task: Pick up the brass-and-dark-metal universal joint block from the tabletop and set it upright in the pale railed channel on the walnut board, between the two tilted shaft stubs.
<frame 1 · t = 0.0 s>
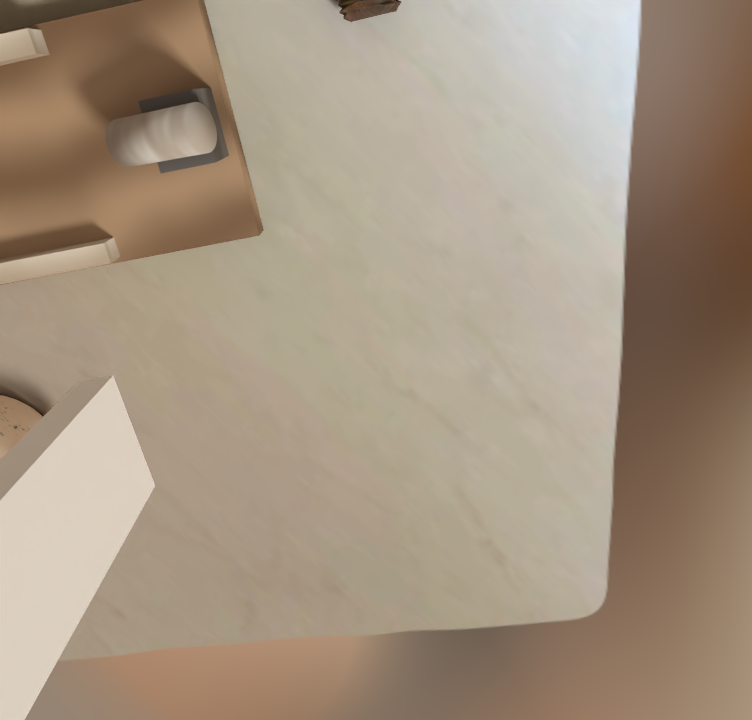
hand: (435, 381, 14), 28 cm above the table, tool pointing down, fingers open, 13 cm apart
teacup with lid: (24, 442, 47), on the table
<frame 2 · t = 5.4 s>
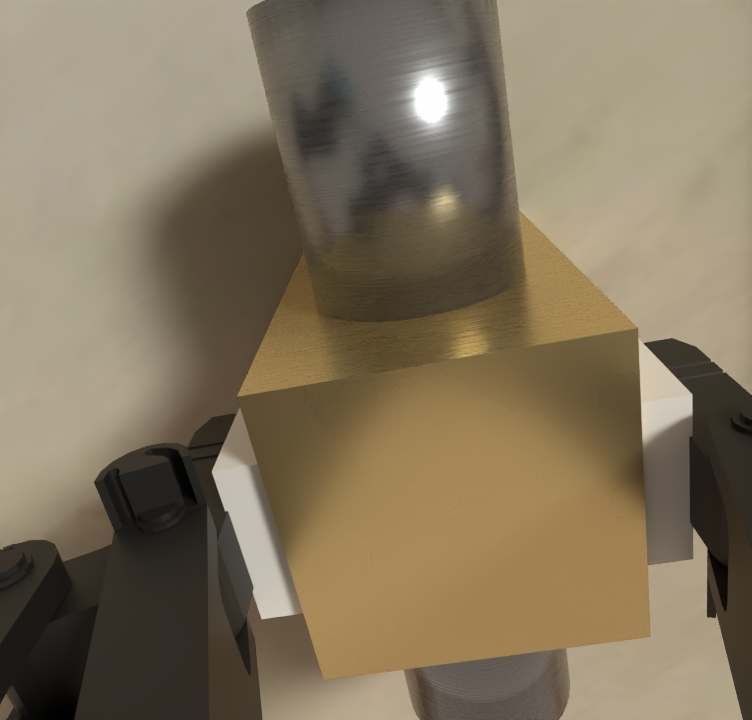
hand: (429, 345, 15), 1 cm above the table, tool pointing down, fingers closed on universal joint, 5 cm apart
universal joint: (426, 325, 16), on the table, touching gripper
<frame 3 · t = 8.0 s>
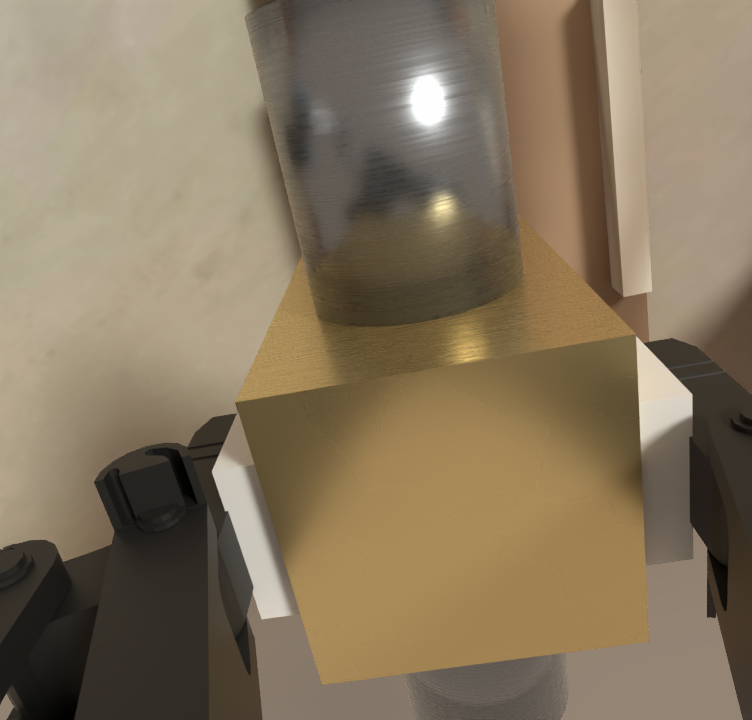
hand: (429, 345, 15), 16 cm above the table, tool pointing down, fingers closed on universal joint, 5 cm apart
universal joint: (425, 328, 16), point 14 cm above the table, touching gripper
coupling cradle: (474, 170, 29), on the table
when the fingers open (4 cm above the table, at t = 10.7 s): universal joint stays where it is, resting on coupling cradle.
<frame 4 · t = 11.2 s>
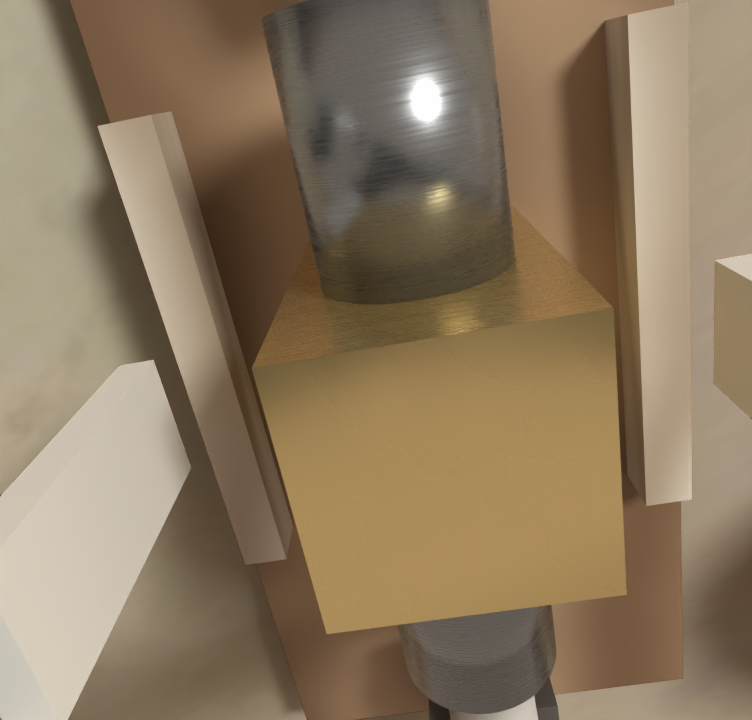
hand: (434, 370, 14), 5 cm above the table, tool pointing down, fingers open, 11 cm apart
universal joint: (424, 314, 17), point 1 cm above the table, touching coupling cradle
coupling cradle: (421, 295, 19), on the table
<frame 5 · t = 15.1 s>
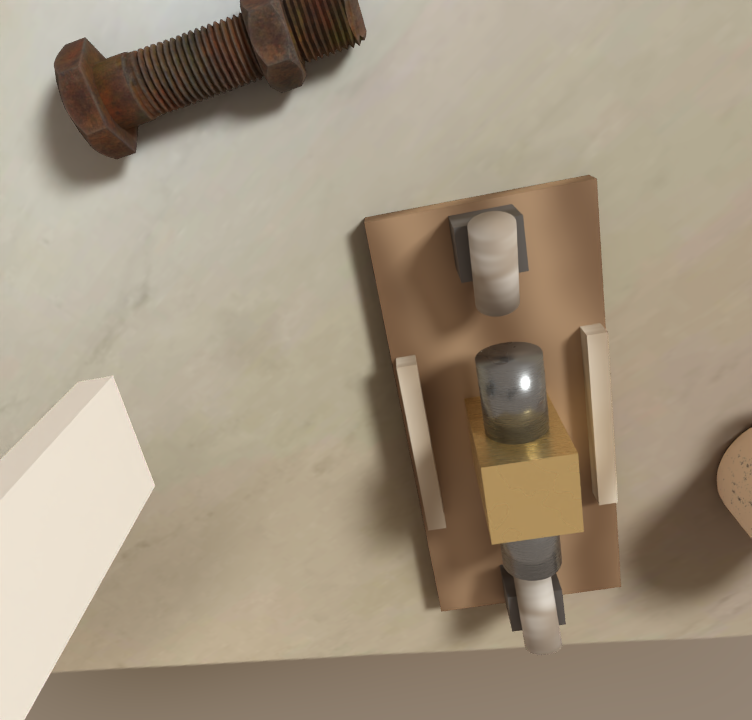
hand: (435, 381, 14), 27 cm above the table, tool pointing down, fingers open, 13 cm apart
universal joint: (507, 426, 43), point 1 cm above the table, touching coupling cradle
bolt: (230, 62, 36), on the table
coupling cradle: (503, 415, 44), on the table
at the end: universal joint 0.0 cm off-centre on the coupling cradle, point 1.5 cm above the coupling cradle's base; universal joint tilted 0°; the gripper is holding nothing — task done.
